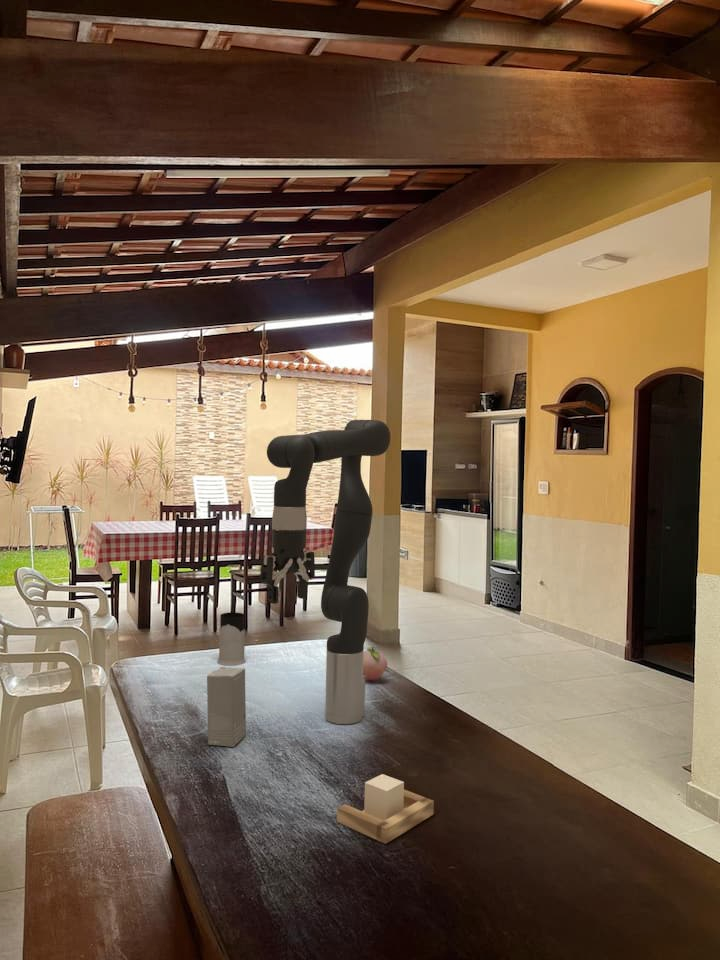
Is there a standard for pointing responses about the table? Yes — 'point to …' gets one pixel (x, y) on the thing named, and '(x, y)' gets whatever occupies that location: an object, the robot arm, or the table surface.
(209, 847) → the table surface
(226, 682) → the skincare box
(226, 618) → the glass holder
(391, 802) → the block
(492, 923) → the table surface
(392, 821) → the rest cradle
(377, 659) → the decorative fruit
